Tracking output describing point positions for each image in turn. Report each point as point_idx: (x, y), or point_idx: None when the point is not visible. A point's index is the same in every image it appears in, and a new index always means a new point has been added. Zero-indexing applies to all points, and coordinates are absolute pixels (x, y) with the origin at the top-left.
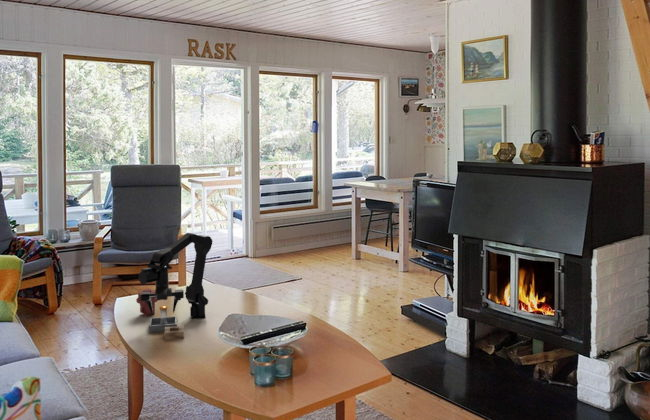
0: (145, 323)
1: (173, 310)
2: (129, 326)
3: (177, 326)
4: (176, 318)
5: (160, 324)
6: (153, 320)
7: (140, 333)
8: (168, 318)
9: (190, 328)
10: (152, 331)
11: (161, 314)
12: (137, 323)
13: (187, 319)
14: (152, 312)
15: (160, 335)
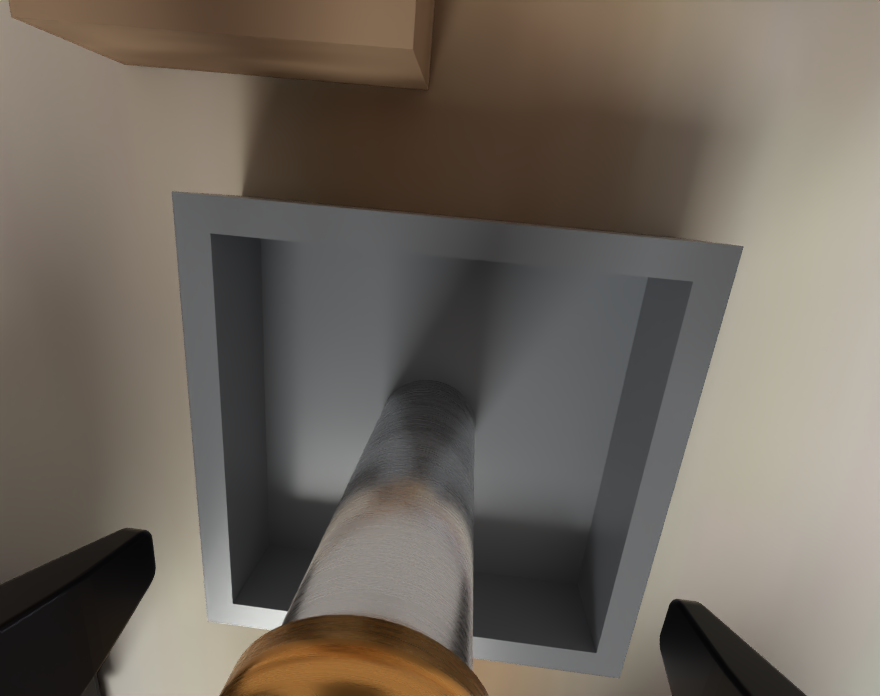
0: (647, 640)
1: (75, 566)
2: (875, 604)
3: (139, 8)
4: (204, 520)
5: None
6: (565, 617)
7: (819, 249)
8: None
9: (49, 240)
10: (629, 233)
11: (448, 531)
12: None
13: None
14: (712, 638)
15: (515, 14)
